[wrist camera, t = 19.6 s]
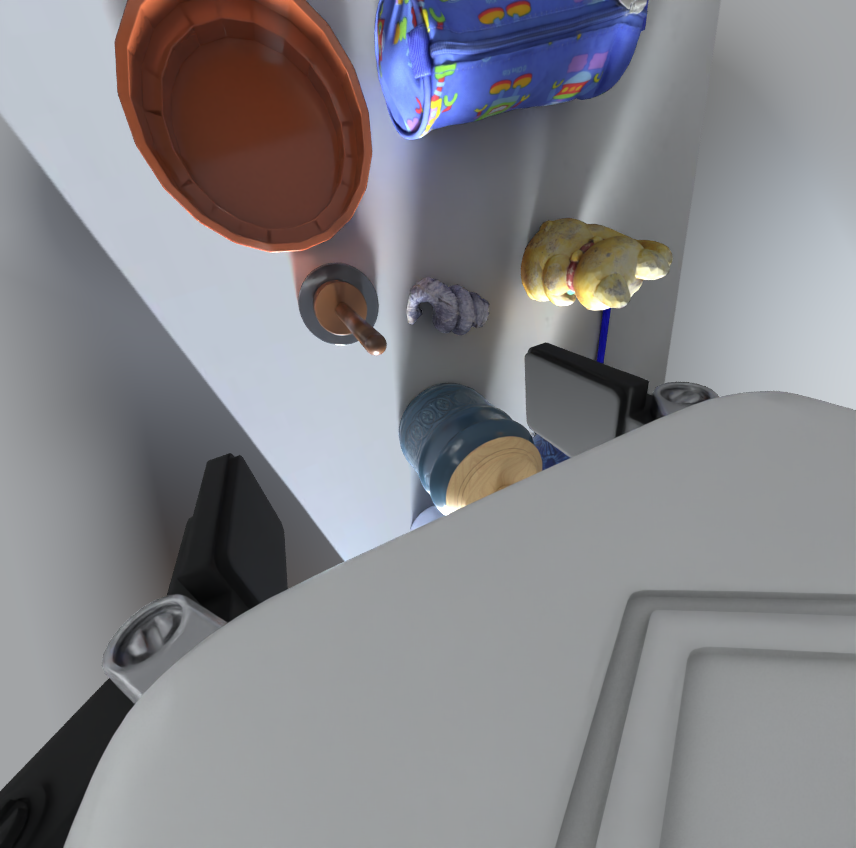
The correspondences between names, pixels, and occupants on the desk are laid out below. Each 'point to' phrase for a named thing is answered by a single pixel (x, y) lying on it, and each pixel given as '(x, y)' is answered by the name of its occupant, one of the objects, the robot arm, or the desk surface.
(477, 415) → the canister
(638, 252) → the decorative figurine
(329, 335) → the grey round base
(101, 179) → the desk surface
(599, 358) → the pencil
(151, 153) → the mixing bowl
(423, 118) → the pencil case
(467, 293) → the seashell
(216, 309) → the desk surface
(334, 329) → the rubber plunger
